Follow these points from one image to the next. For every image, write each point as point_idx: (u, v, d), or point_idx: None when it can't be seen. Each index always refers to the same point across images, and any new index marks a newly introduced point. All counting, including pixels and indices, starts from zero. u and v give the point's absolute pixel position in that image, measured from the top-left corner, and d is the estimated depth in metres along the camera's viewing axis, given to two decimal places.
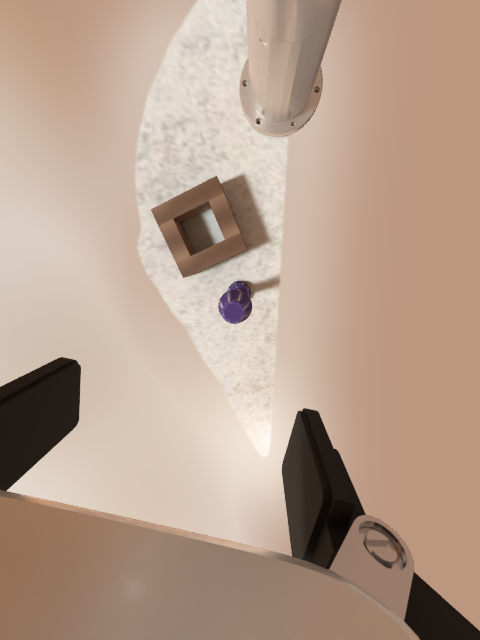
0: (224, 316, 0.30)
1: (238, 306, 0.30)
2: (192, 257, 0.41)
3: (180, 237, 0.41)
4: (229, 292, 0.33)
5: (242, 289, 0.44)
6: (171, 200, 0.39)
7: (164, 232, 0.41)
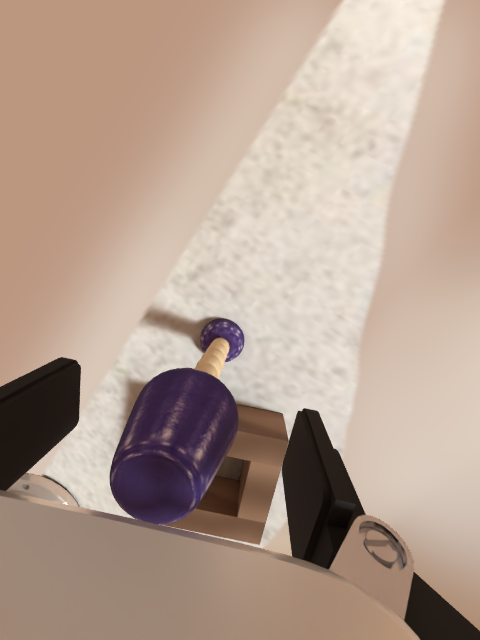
0: (195, 496, 0.07)
1: (121, 495, 0.07)
2: (249, 457, 0.22)
3: (245, 491, 0.23)
4: None
5: None
6: (222, 535, 0.24)
7: (264, 511, 0.23)
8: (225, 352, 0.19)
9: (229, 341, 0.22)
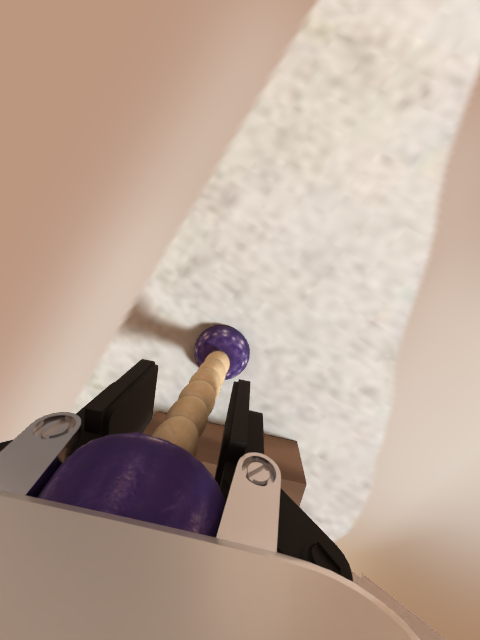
0: None
1: None
2: None
3: None
4: None
5: None
6: None
7: None
8: (223, 372, 0.14)
9: (230, 355, 0.17)
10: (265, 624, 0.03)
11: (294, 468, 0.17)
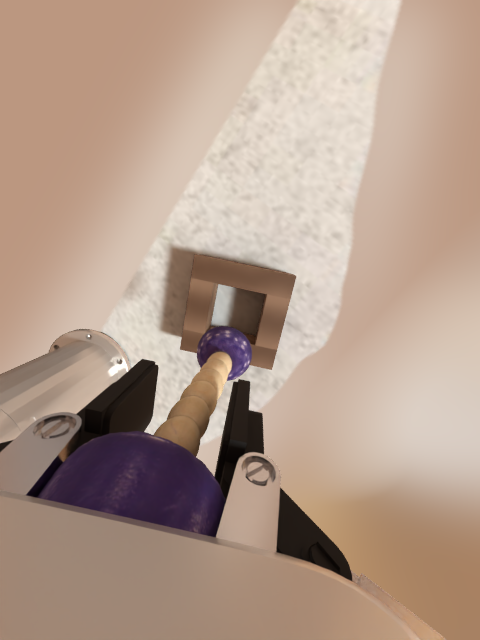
0: None
1: None
2: (265, 291, 0.29)
3: (262, 321, 0.29)
4: None
5: (206, 363, 0.17)
6: None
7: (276, 339, 0.30)
8: (225, 373, 0.14)
9: (232, 356, 0.17)
10: (265, 624, 0.03)
11: (289, 274, 0.29)
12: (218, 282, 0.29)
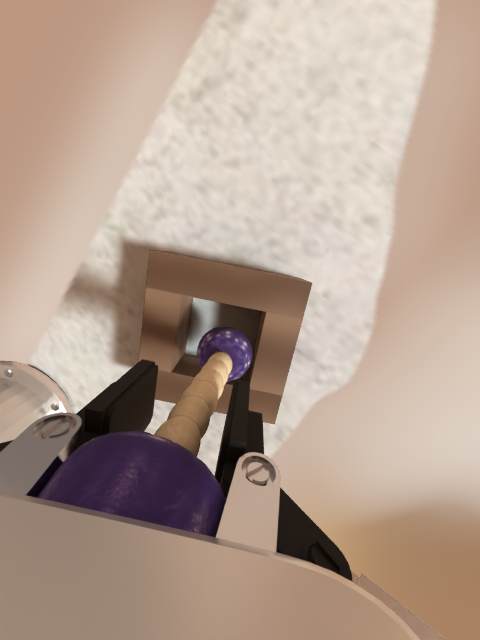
0: None
1: None
2: (264, 306, 0.18)
3: (259, 353, 0.19)
4: None
5: None
6: None
7: (281, 379, 0.19)
8: (225, 374, 0.14)
9: (232, 356, 0.17)
10: (265, 624, 0.03)
11: None
12: (189, 294, 0.18)
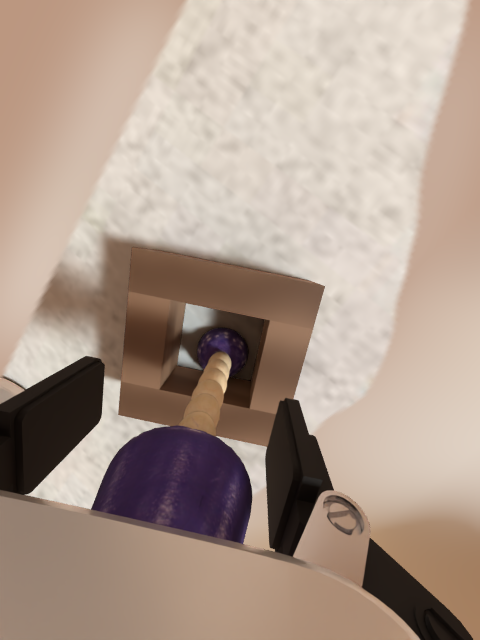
0: None
1: None
2: (267, 314, 0.15)
3: (261, 368, 0.16)
4: None
5: (207, 362, 0.19)
6: (228, 436, 0.18)
7: None
8: (227, 372, 0.16)
9: (231, 355, 0.18)
10: (265, 624, 0.03)
11: (310, 282, 0.16)
12: (179, 299, 0.15)
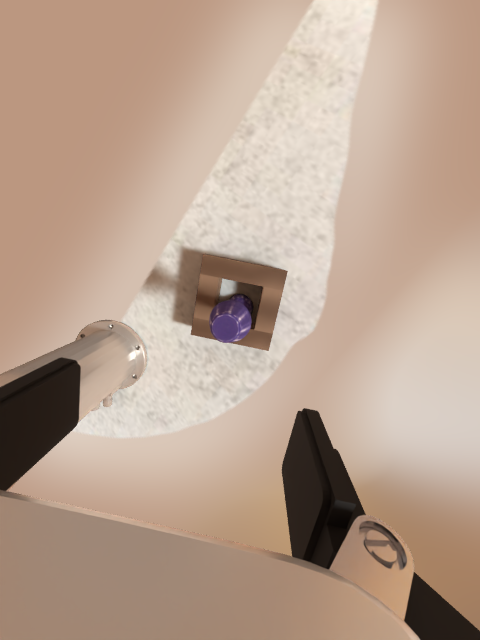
0: (238, 330, 0.23)
1: (214, 330, 0.23)
2: (262, 283, 0.34)
3: (260, 309, 0.35)
4: None
5: None
6: (244, 344, 0.37)
7: (272, 324, 0.36)
8: None
9: (244, 306, 0.37)
10: (265, 624, 0.03)
11: None
12: (223, 277, 0.34)
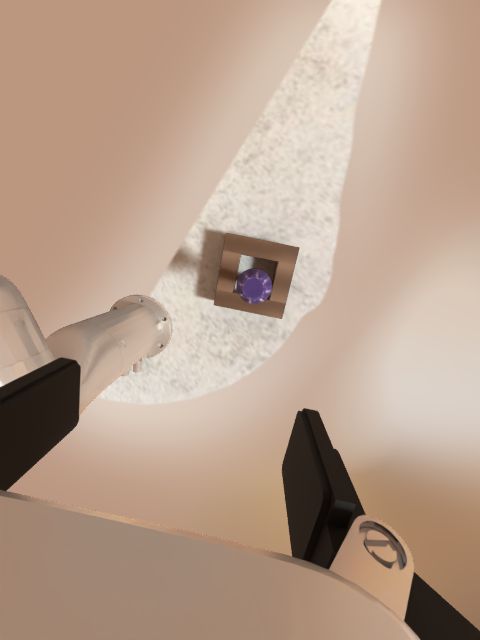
0: (263, 290, 0.28)
1: (244, 290, 0.28)
2: (277, 259, 0.40)
3: (275, 282, 0.40)
4: None
5: None
6: (260, 313, 0.42)
7: (285, 295, 0.41)
8: None
9: None
10: (265, 624, 0.03)
11: None
12: (243, 253, 0.40)
